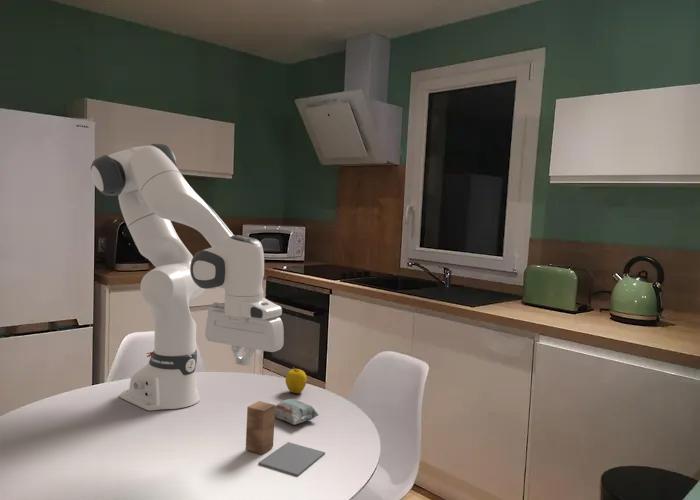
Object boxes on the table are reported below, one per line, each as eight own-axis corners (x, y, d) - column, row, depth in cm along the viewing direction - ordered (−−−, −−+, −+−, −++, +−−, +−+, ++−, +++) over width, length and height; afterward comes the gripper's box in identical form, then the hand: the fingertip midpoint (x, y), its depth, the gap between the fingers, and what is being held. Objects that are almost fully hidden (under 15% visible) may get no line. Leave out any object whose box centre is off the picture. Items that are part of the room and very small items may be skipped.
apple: (285, 389, 162) (286, 363, 162) (305, 389, 163) (307, 364, 163) (284, 396, 156) (286, 370, 156) (306, 396, 157) (307, 370, 156)
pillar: (245, 450, 120) (247, 406, 119) (257, 443, 124) (259, 400, 123) (261, 455, 118) (263, 411, 117) (273, 447, 122) (275, 404, 121)
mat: (258, 464, 114) (258, 462, 114) (288, 443, 124) (288, 442, 124) (297, 476, 109) (297, 474, 109) (325, 453, 120) (325, 452, 120)
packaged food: (294, 431, 132) (296, 412, 131) (264, 418, 139) (265, 399, 139) (319, 423, 138) (320, 404, 138) (288, 410, 146) (289, 393, 146)
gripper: (199, 303, 123) (198, 361, 124) (272, 313, 114) (270, 375, 115) (217, 299, 128) (216, 355, 129) (288, 308, 119) (286, 368, 120)
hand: (242, 364), depth 122 cm, fingers closed
